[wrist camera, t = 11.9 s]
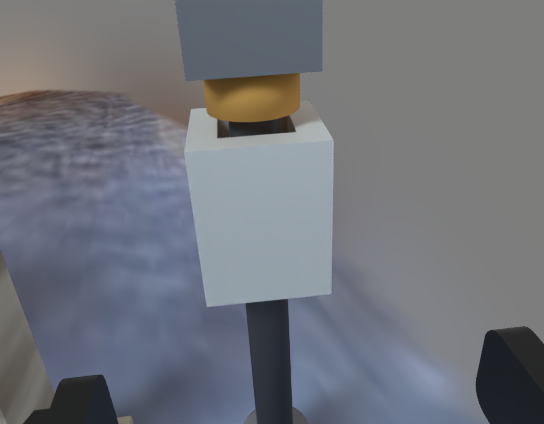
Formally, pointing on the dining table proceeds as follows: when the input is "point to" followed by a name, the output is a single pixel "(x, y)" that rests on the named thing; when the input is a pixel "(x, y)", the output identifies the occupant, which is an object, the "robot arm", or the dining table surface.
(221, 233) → the sleeve
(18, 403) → the stand
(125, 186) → the dining table surface
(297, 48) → the dark grey piece
